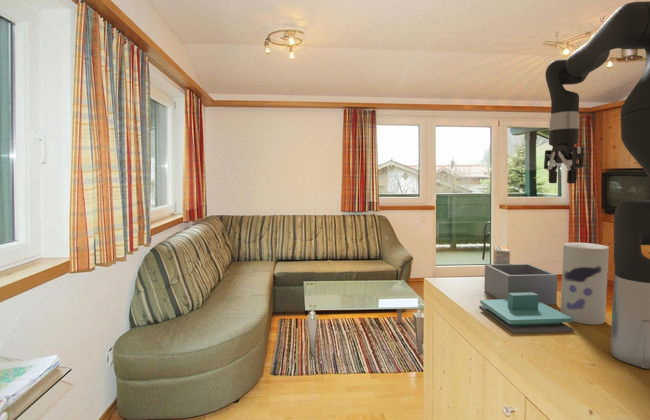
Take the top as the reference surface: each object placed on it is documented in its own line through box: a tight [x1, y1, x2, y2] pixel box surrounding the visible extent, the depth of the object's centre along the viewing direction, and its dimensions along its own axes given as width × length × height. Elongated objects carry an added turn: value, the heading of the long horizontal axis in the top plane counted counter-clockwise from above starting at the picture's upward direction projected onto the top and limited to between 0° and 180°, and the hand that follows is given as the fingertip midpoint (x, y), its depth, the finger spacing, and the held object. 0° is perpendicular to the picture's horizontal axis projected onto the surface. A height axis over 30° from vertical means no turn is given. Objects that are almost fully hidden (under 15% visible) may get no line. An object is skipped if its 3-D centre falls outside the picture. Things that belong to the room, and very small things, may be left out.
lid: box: [479, 292, 573, 326], centre depth 104 cm, size 16×16×6 cm
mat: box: [478, 304, 575, 334], centre depth 104 cm, size 19×15×1 cm
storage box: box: [483, 263, 559, 306], centre depth 122 cm, size 15×15×9 cm
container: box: [560, 242, 610, 326], centre depth 103 cm, size 10×10×20 cm
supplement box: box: [492, 245, 511, 265], centre depth 137 cm, size 8×5×13 cm, turn 160°
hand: (561, 183), depth 116 cm, fingers open, 8 cm apart
